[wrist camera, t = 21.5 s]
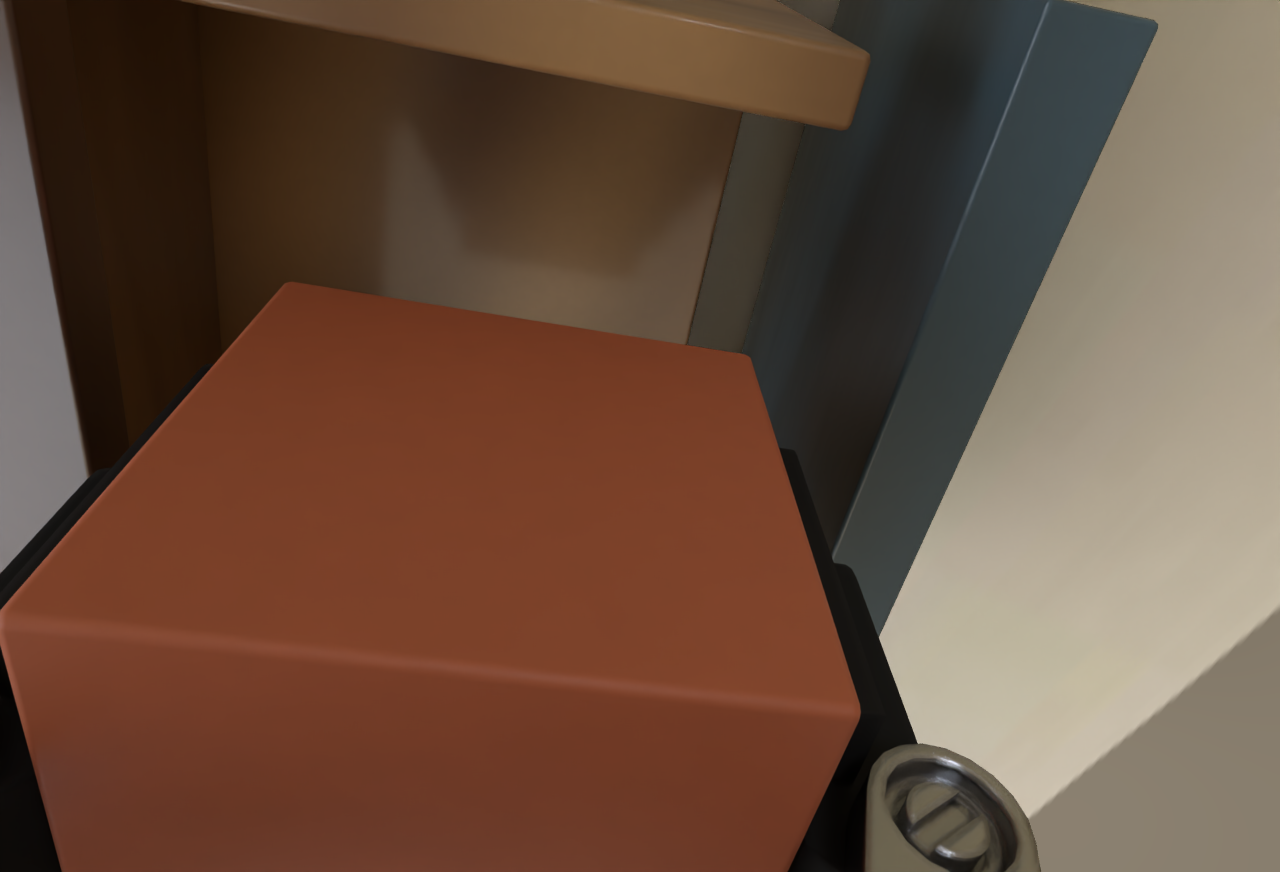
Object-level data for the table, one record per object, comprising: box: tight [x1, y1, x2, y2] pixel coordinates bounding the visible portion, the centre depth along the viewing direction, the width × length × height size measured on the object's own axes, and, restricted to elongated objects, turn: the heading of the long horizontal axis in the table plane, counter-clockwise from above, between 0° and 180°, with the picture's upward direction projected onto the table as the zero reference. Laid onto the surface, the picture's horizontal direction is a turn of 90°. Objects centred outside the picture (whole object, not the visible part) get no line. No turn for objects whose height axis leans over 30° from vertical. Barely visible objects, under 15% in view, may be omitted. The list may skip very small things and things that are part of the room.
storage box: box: [66, 0, 1158, 637], centre depth 14 cm, size 14×13×8 cm
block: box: [0, 282, 861, 872], centre depth 8 cm, size 5×5×5 cm
